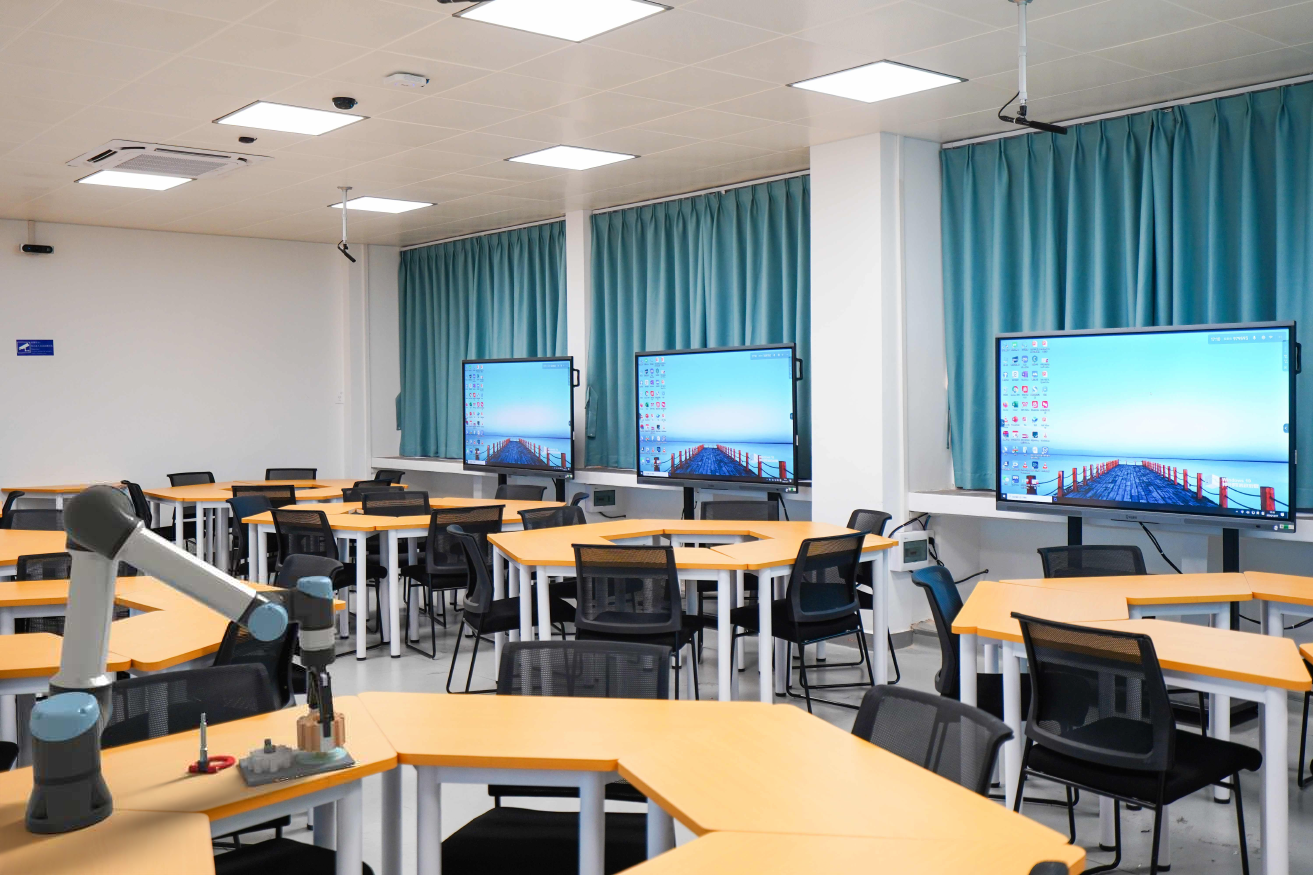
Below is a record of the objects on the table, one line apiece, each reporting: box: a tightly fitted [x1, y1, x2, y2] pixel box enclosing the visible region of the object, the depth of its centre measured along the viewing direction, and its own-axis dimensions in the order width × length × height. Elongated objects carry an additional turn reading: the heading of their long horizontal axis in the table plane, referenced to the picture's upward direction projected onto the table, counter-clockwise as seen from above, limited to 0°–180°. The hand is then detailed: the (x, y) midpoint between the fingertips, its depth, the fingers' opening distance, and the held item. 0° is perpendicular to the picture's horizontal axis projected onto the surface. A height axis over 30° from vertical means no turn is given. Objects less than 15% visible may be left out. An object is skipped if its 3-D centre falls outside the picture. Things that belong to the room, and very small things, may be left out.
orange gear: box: [296, 710, 346, 752], centre depth 234 cm, size 10×10×6 cm
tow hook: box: [187, 712, 236, 774], centre depth 233 cm, size 8×13×9 cm
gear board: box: [238, 738, 356, 787], centre depth 232 cm, size 22×16×7 cm
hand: (321, 743), depth 235 cm, fingers closed on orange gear, 10 cm apart
